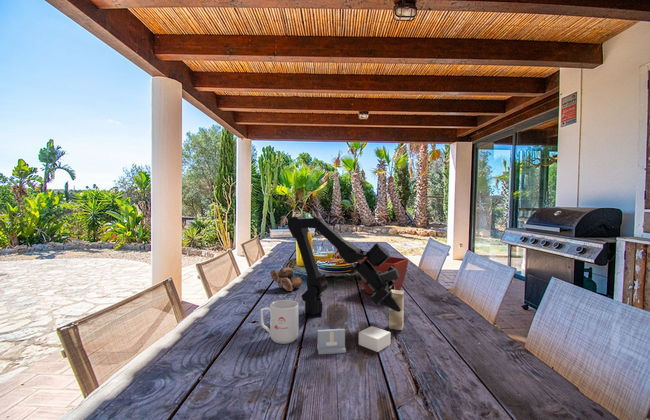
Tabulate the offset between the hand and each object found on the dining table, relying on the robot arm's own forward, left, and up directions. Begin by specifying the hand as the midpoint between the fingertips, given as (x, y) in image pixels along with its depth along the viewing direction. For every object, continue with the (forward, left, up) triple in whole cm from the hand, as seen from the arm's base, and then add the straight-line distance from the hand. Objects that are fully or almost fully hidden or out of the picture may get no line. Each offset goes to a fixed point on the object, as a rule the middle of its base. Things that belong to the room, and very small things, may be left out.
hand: (400, 308), depth 106 cm
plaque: (-27, -13, -7) cm, 31 cm away
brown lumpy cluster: (-38, +54, -7) cm, 66 cm away
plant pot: (+9, +42, -7) cm, 43 cm away
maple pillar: (-1, +1, -7) cm, 7 cm away
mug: (-42, -3, -7) cm, 43 cm away
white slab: (-13, -11, -7) cm, 19 cm away
